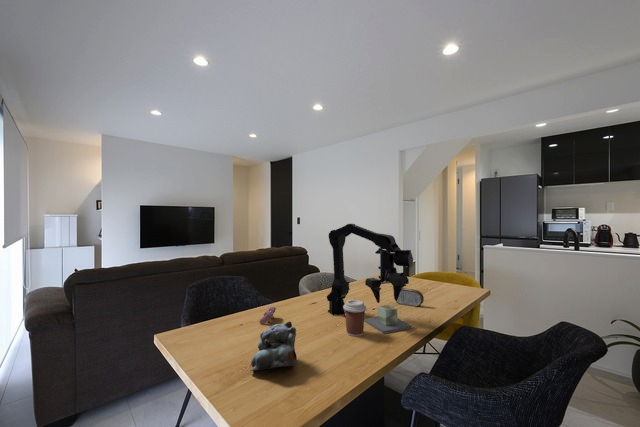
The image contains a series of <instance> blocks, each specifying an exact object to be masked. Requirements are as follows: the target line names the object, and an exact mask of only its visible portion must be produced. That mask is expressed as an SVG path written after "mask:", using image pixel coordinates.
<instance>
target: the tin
mask: <svg viewBox="0 0 640 427" xmlns="http://www.w3.org/2000/svg"><path fill="white" fill-rule="evenodd" d="M393 299H394V301H395V302H396V303H397V304H399V305H404V306H409V307H414V308H417V307H420V306H421V305H422V304H423V303H424V300H425V299H424V295H423V293H422V292H421V291H419V290H418V289H413V288H406V287H403V288H402V289H401V291H400V294H399V297H398V300H397V301H396V300H395V298H394V297H393Z"/></svg>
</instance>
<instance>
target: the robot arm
mask: <svg viewBox="0 0 640 427" xmlns="http://www.w3.org/2000/svg"><path fill="white" fill-rule="evenodd" d="M351 234H354V235H356V236H358V237H360V238H363V239H365V240H367V241H370V242H372V243H373V244H374V245H376V246H377V247H378V249H377V250H376V251H375V254H377V255H380V256H379V260H380V261H379V262H380V263H379V265H380V266H378V268H377V269H378V270H379V271H380V273H379V275H378V278H375V277H369V278H366V279H365V283H364V284H365V286H367V288H370V290H371V292H372V294H373V296H374V298H375V300H376V303H377V304H380V300H381V295H380V294H381V292H380V291H381V289H382V287H381V286H382V285H384V284H391V286H392V288H393V299H394V298H395V299H394V301H395V300H396V301H397V300H398V297H399V294H400V291H401V289H402V288H405V287H406V286H407V285H409V283H410V282H409V278H408V276H407V273H406V272H404V271H403V272H397V267H406V268H412V266H413V265H414V264H413V263H414V257H413V254H412V250H411V249H401V248H400V246H399V245H398V244H397V241H396V238H395V237H394V235H391V234H385V233H379V232H375V231H372V230H370V229H367V228H364V227H361V226H359V225H357V224H355V223H347V224H345V225H343V226H341V227H338V228H337V229H332V230H330V231H329V233H328V241H329V244H330V246H331V248H332V257H333V259H332V260H333V281H332V283H331V290H330V291H331V292H329V293H328V294H327V295H326V300H327V301H328V303H329V304H328V308H329V309H327V312H328V313H329V314H331V315H332V316H338V315H344V314H345V310H344V309H343V306H344V305H345V304H346V302H345V300H344V299H345V298H346V296H348V294H349V291H351V289H350V282H349V281H347V280H346V279H345V264H344V246H345V243H346V239H347V237H349V236H350V235H351ZM395 265H396V267H395ZM396 301H395V302H396Z"/></svg>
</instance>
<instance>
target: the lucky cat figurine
mask: <svg viewBox="0 0 640 427" xmlns="http://www.w3.org/2000/svg"><path fill="white" fill-rule="evenodd" d="M292 325H293V323H292V322H291V321H288V322H286V323H276V324H271V325H270V326H269V327H268V328H267V330H264V331H262V332H260V334H259V336H260V340H259V342H258V344H257V348H258V351H257V352H256V353H255V354H254V355H253V357H252V358H251V362H250V365H251V367H252V368H251V369H249V371H251V372H253V373H254V372H257V371H261V370H268V369H275V368H281V367H282V368H283V367H295V366H298V359H297V352H296V350H295V345H296V344H295V343H296V336H297V329H296V327H295V326H292Z"/></svg>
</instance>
